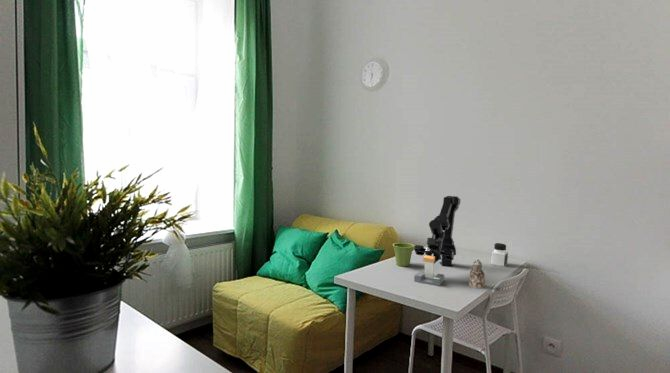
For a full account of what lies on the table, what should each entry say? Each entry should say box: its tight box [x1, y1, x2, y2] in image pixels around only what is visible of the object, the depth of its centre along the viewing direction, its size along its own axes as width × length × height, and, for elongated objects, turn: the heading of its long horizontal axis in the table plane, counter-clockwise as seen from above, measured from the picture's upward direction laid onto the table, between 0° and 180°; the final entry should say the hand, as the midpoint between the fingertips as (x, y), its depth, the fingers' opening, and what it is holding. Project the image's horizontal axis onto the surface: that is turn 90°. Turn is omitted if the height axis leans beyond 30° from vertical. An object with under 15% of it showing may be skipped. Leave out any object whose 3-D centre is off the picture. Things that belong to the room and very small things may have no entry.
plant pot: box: [392, 242, 415, 267], centre depth 207 cm, size 12×12×11 cm
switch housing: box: [413, 270, 445, 287], centre depth 180 cm, size 9×12×3 cm
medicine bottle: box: [490, 242, 509, 268], centre depth 212 cm, size 7×7×12 cm
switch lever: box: [422, 254, 435, 278], centre depth 179 cm, size 3×5×10 cm, turn 59°
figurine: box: [468, 259, 486, 289], centre depth 175 cm, size 7×7×12 cm
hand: (429, 267), depth 180 cm, fingers closed, pressing on switch lever
